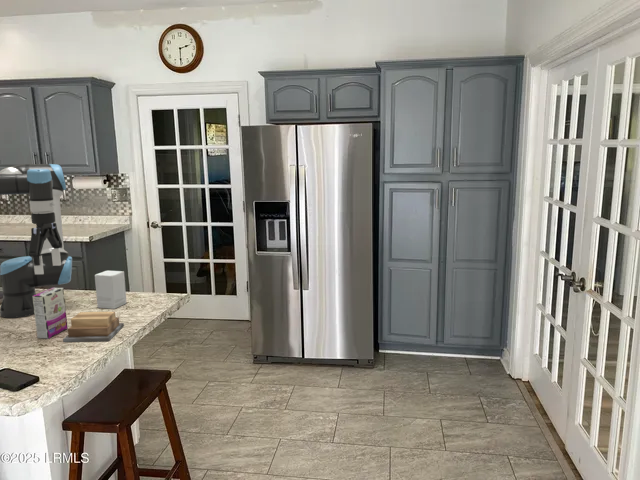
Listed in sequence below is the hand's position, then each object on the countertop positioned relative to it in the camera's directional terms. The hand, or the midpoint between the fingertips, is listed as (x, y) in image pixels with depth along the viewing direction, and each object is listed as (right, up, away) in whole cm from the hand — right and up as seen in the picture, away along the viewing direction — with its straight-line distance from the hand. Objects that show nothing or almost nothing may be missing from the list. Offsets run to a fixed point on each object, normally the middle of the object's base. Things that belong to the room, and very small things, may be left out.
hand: (48, 269), depth 182 cm
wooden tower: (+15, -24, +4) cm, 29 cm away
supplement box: (+8, -18, +38) cm, 43 cm away
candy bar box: (-1, -24, +4) cm, 25 cm away
